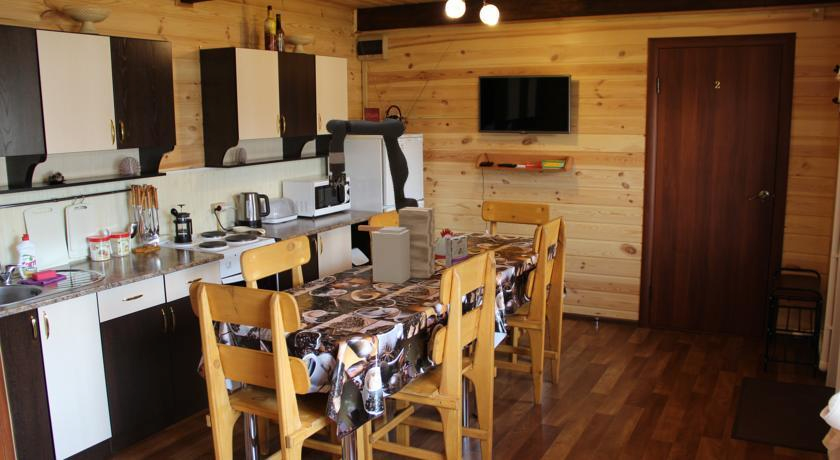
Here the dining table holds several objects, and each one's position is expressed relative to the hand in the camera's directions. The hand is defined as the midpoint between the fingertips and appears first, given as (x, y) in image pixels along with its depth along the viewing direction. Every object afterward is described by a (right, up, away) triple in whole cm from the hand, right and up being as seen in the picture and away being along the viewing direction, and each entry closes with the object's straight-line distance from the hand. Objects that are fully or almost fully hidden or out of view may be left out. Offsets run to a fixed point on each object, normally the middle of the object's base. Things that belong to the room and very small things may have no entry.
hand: (338, 195), depth 357 cm
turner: (+22, -17, -10) cm, 30 cm away
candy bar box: (+57, -36, +11) cm, 69 cm away
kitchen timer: (+54, -31, +45) cm, 77 cm away
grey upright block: (+26, -40, -8) cm, 48 cm away
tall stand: (+38, -38, +2) cm, 54 cm away
